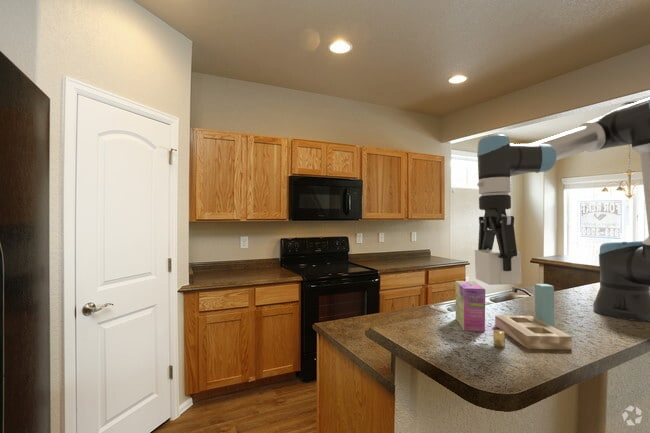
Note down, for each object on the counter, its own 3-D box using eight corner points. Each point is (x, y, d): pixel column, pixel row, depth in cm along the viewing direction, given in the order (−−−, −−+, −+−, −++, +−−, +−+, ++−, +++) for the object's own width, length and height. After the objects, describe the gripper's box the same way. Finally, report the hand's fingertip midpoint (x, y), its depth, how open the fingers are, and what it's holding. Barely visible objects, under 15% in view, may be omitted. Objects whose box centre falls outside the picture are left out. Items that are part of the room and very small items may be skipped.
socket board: (531, 326, 90) (531, 315, 90) (571, 349, 74) (571, 336, 74) (495, 325, 91) (495, 315, 91) (527, 348, 75) (527, 335, 75)
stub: (502, 344, 77) (501, 330, 77) (507, 348, 75) (506, 333, 75) (491, 344, 77) (491, 330, 77) (496, 348, 75) (496, 333, 75)
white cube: (504, 278, 88) (503, 249, 88) (521, 284, 80) (520, 252, 80) (475, 278, 88) (474, 250, 88) (489, 284, 80) (488, 253, 80)
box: (486, 332, 86) (485, 288, 86) (463, 330, 87) (463, 287, 87) (475, 319, 96) (474, 281, 96) (455, 319, 97) (455, 280, 97)
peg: (546, 325, 90) (546, 283, 90) (554, 329, 87) (553, 286, 87) (535, 325, 90) (534, 283, 91) (542, 329, 87) (541, 286, 87)
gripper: (464, 197, 95) (466, 273, 94) (500, 191, 74) (503, 289, 74) (489, 197, 94) (491, 273, 94) (533, 191, 73) (536, 288, 73)
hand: (496, 280), depth 84 cm, fingers closed on white cube, 8 cm apart
